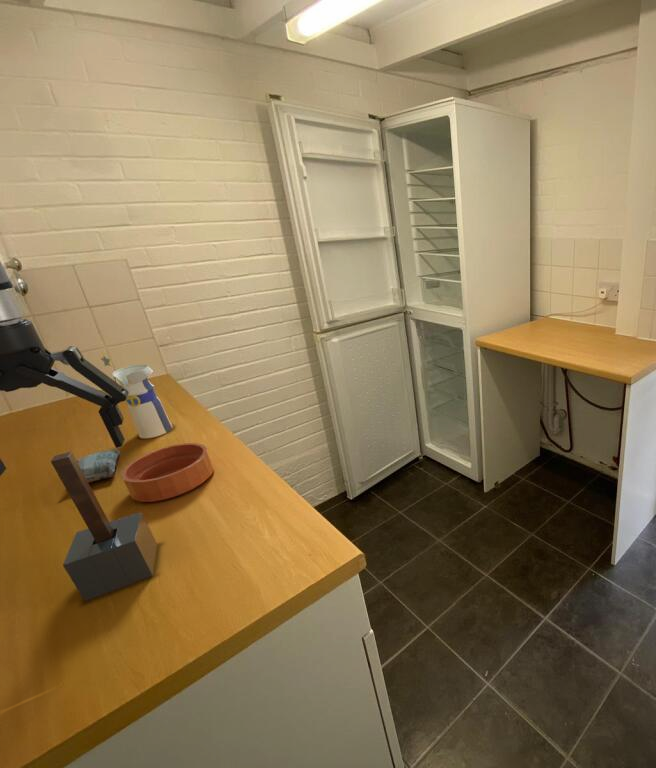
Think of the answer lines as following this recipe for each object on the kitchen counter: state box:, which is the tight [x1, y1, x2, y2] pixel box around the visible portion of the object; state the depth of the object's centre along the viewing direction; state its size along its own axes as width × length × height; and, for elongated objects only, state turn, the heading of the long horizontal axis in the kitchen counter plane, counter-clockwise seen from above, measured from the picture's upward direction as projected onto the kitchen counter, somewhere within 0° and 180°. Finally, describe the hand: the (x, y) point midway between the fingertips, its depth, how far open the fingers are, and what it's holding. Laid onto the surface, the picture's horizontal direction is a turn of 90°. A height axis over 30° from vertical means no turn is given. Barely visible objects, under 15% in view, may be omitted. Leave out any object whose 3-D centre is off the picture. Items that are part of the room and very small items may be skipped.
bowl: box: [120, 442, 215, 503], centre depth 96 cm, size 16×16×6 cm
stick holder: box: [62, 511, 158, 602], centre depth 72 cm, size 9×9×8 cm
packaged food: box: [76, 449, 121, 483], centre depth 100 cm, size 9×12×5 cm
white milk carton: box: [100, 354, 173, 439], centre depth 115 cm, size 8×9×25 cm
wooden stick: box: [50, 451, 116, 544], centre depth 69 cm, size 2×2×24 cm
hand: (63, 458), depth 64 cm, fingers open, 13 cm apart
